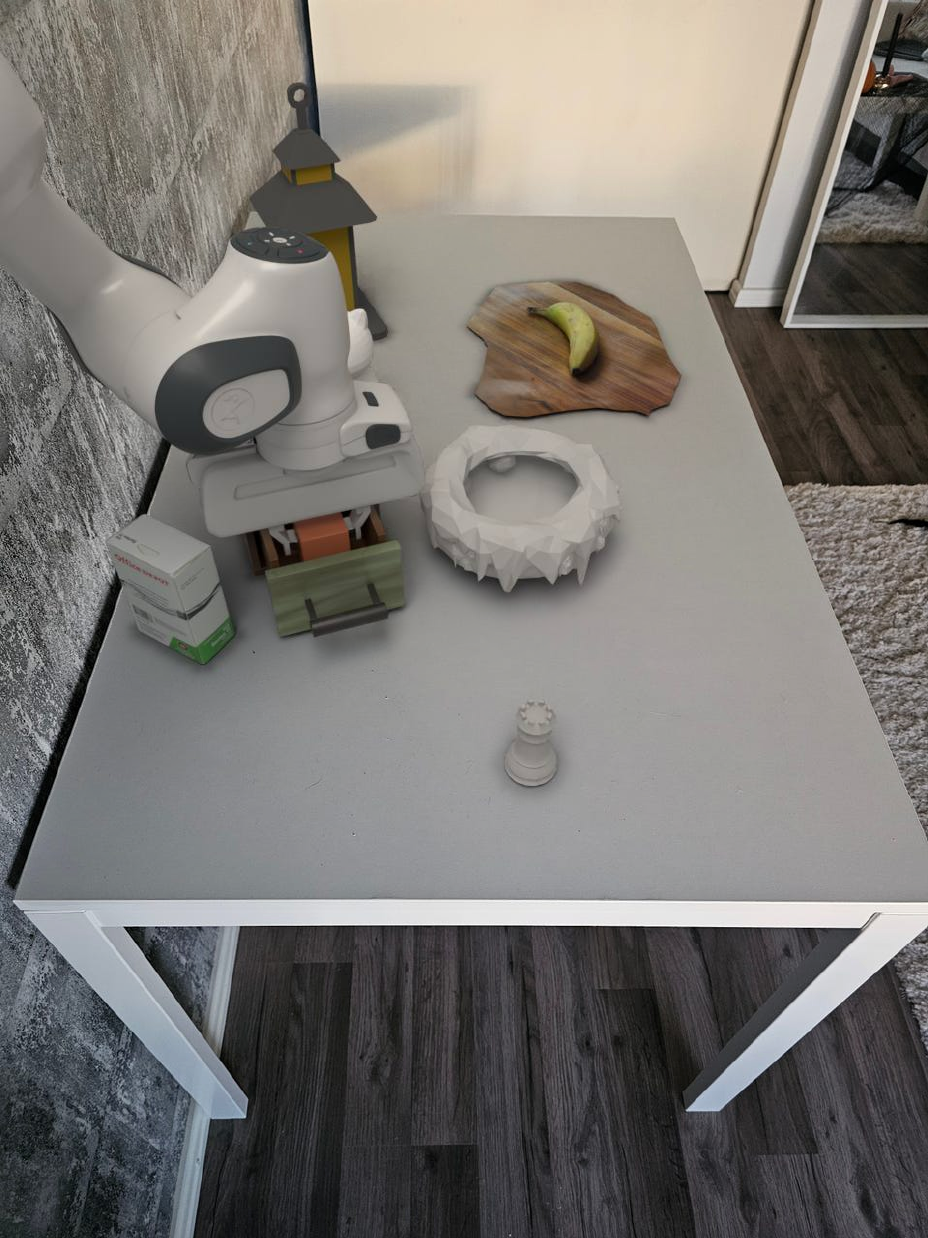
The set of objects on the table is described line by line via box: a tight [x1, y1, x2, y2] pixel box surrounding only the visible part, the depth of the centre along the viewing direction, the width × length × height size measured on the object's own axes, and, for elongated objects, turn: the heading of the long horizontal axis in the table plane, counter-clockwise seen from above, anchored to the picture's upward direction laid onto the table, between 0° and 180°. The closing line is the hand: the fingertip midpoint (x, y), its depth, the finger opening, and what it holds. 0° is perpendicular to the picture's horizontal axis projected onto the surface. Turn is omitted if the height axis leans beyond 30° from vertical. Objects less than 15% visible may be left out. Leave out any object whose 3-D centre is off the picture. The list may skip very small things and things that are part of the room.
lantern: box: [248, 81, 388, 341], centre depth 116 cm, size 14×14×30 cm
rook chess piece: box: [504, 698, 557, 787], centre depth 75 cm, size 4×4×8 cm
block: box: [292, 512, 351, 562], centre depth 87 cm, size 4×4×4 cm
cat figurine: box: [347, 309, 379, 383], centre depth 107 cm, size 9×12×15 cm
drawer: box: [257, 505, 405, 638], centre depth 88 cm, size 18×12×8 cm
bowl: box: [418, 424, 625, 593], centre depth 93 cm, size 21×20×10 cm
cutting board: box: [466, 281, 682, 418], centre depth 122 cm, size 35×27×4 cm
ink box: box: [105, 513, 236, 665], centre depth 83 cm, size 9×5×12 cm, turn 58°
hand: (322, 543), depth 87 cm, fingers closed on block, 4 cm apart
